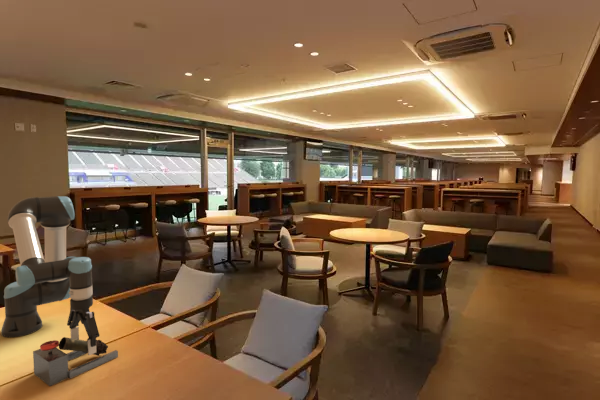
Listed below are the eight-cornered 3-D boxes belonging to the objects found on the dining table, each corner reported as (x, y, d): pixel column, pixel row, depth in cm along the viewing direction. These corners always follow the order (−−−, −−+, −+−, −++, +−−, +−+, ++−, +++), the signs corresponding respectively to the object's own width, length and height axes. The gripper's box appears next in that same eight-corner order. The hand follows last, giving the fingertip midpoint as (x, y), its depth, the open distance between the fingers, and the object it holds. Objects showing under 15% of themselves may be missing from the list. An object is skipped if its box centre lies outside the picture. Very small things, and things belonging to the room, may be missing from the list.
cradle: (33, 373, 129) (31, 341, 128) (98, 346, 149) (97, 318, 148) (51, 387, 121) (49, 353, 120) (118, 356, 141) (117, 327, 140)
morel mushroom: (62, 350, 127) (69, 334, 130) (54, 347, 131) (61, 332, 134) (106, 357, 140) (112, 342, 143) (97, 354, 144) (103, 340, 146)
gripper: (56, 293, 138) (58, 343, 140) (87, 307, 125) (89, 362, 127) (76, 287, 145) (78, 335, 147) (108, 301, 131) (110, 353, 133)
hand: (83, 348), depth 137 cm, fingers open, 13 cm apart
